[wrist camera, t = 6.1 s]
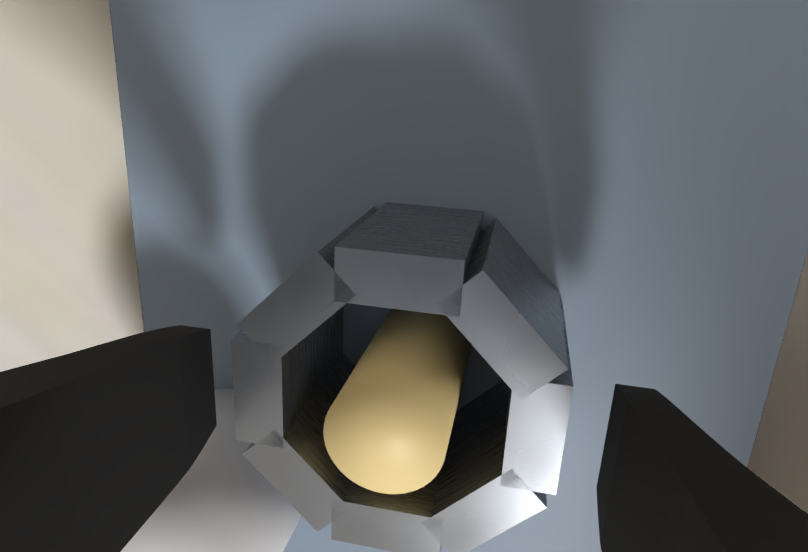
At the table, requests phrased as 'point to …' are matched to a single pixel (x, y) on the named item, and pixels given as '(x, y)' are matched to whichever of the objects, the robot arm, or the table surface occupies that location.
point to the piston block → (473, 190)
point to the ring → (473, 424)
